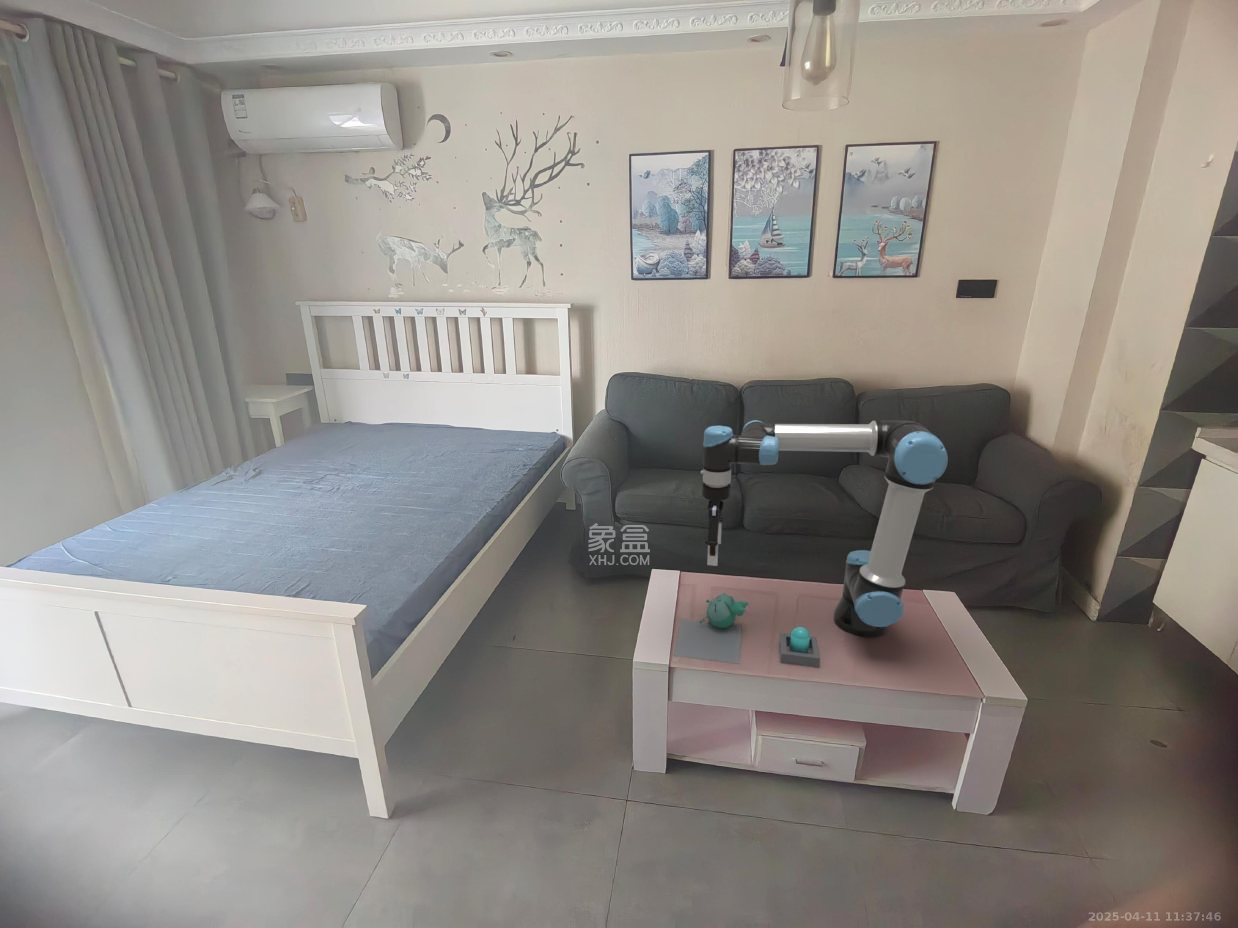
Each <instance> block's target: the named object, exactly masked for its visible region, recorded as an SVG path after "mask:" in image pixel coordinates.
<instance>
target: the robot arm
mask: <svg viewBox="0 0 1238 928" xmlns="http://www.w3.org/2000/svg"><path fill="white" fill-rule="evenodd" d="M702 443H703V444H702V452H703V453H702V470H700V474H701V475H702V482H703V483H702V493H701V495H702V497H703V498H704V499H706V500H708V505H707V510H708V515H707V516H708V517H707V518H708V533H707V540H706V541H704V542H705V545H707V556H706V557H707V561H706V564H707V566H713V567H714V566H715V567H717V566H718V559H719V557H718V555H719V545H721V544H722V523H724V521H725V518H724V517H723V509H724V501H725V500H728V499H729V498H730V497H731V481H732V464H740V465H758V466H771V465H772V466H773V465H776V464H777V463H778V461H779V460H778V459H779V451H783V452H784V451H786V452H787V451H789V452H790V451H791V452H792V451H793V452H840V453H841V452H845V453H850V452H852V453H868V454H869V455H870V456H871V457H872V456H873V457H883V458H888V461H887V463H886V464H887V465H886V468H885V472H884V479H885V480H886V482H887V483H888V486H887V490H886V493H885V498H884V500H883V505H882V508H881V511H880V512H881V513H880V516H879V520H878V524H877V527H876V531H875V534H874V539H873V542H872V545H871V549H870V550H865V549H864V550H862V549H861V550H860V549H858V550H853V551H850V552H849V553H848V555H847V556H846V560H845V572H844V579H843V587H842V588H843V589H842V596H841V598H840V600H839V602H838V604H836V606H835V609H834V611H833V623H834V624H835V625H836V626H837V627H838V628H839V629H840V630H842V631H843V632H846V633H847V634H850V635H853V636H857V637H861V638H876V637H880V636H883V635H884V634H885V633H886V632H887V628H888V627H889V626H890V625H891V626H892V625H893V624H895V623H897V622H898V621H899V620H900V619H901V618H902V617H903V615H904V614H903V613H904V604H903V601H902V600H901V599H902V595H903V592H904V591H903V590H904V588H905V585H906V579H905V577H904V576H903V575H902V572H903V569H904V565H905V563H906V562H905V561H906V558H907V555H908V552H909V548H910V545H911V541H912V538H913V535H914V530H915V528H916V525H917V521H918V518H919V514H920V511H921V507H922V503H923V500H924V496H925V493H927V492H929V491H931V490H933V488H934V486H935V483H936V480H937V479H940V478H941V477H942V475H943V474H944V473H945V471H946V469H947V466H948V460H949V458H948V453H947V450H946V448H945V445H944V444H943V442H942V441H941V440H940V439H939V438H938V437H937V436H936V435H935V434H933V433H932V432H930V430H929V429H928V428H927V427H926V426H924V425H923V424H921V423H919V422H916V421H911V420H872V421H871V422H870V423H868V424H867V423H866V424H864V423H861V424H858V423H855V424H854V423H851V424H849V423H847V424H845V423H844V424H843V423H841V424H839V423H836V424H835V423H764V422H762V421H761V420H757V419H756V420H755V419H754V420H751V421H748V422H747V423H746V424H745V425H744V426H743V428H742V430H741V434H740V435H739V434H738V435H736V434H734V433H733V429H732V428H731V427H730V426H725V425H724V426H723V425H712V426H711V425H710V426H708V427H707V428H706V429H705V430H704V431H703V442H702Z"/></svg>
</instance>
